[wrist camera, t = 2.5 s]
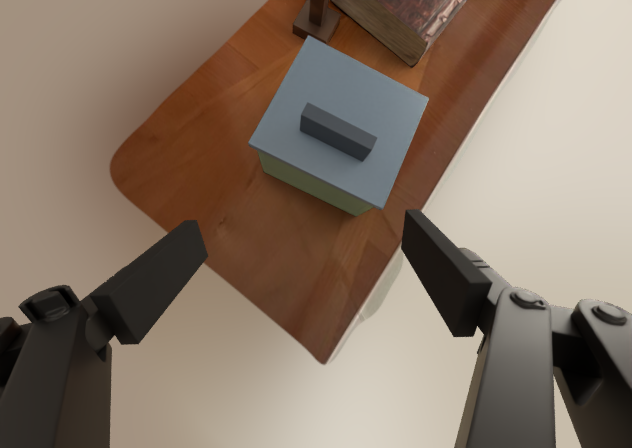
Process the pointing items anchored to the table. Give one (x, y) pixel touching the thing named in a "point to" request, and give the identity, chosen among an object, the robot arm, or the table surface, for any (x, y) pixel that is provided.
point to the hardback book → (403, 22)
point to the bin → (312, 185)
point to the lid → (340, 123)
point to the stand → (316, 21)
